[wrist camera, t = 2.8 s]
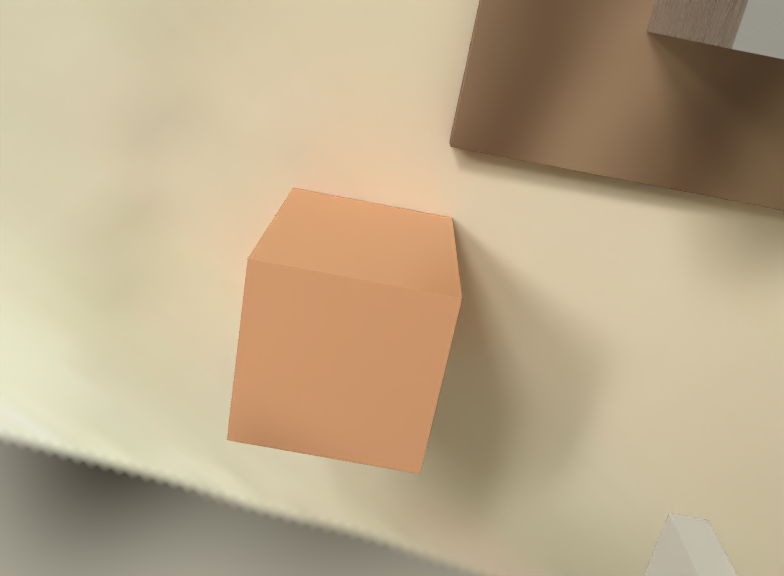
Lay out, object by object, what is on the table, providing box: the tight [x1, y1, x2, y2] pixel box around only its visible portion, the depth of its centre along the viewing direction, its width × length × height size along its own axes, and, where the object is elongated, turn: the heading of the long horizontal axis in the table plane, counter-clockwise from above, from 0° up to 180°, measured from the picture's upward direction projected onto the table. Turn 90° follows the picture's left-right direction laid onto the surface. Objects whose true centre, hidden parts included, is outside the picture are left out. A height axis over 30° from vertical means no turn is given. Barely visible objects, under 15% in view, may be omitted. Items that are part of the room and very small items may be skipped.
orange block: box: [227, 188, 462, 474], centre depth 22 cm, size 5×5×7 cm
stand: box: [450, 0, 784, 210], centre depth 21 cm, size 16×11×1 cm
